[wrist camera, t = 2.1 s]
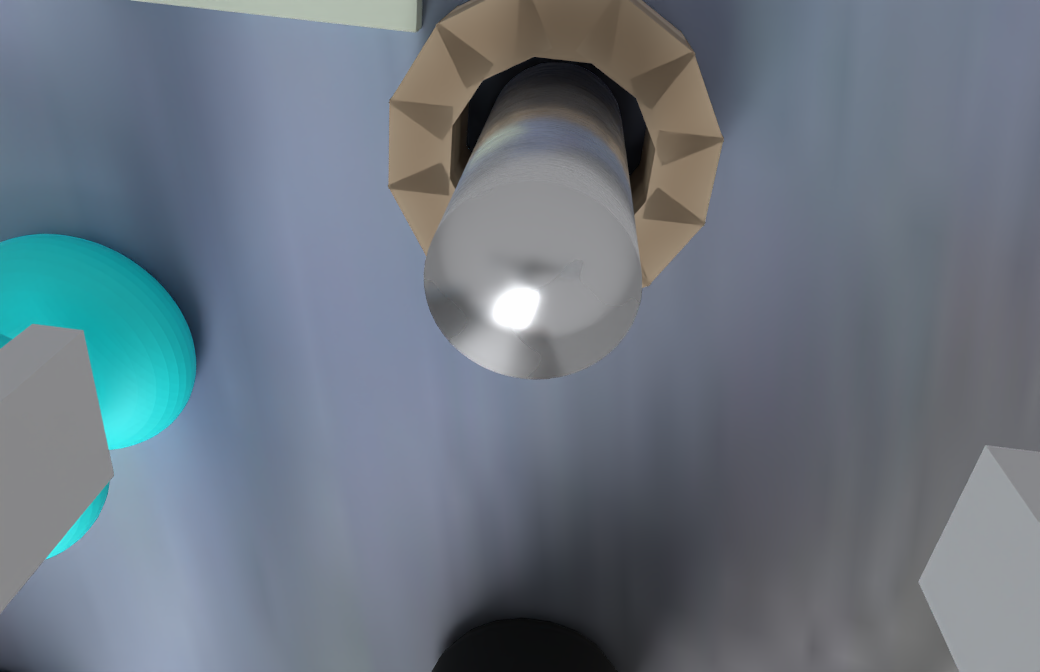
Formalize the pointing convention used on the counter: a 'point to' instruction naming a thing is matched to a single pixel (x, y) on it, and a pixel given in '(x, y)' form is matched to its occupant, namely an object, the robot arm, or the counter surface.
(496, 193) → the plug
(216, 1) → the board
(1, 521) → the robot arm
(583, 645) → the coffee jar
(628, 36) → the collar
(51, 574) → the counter surface
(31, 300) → the donuts
